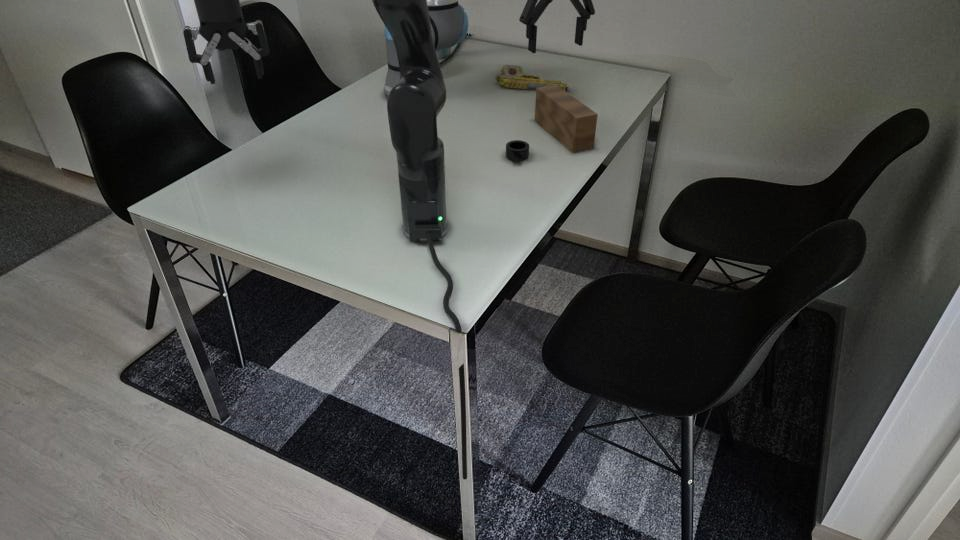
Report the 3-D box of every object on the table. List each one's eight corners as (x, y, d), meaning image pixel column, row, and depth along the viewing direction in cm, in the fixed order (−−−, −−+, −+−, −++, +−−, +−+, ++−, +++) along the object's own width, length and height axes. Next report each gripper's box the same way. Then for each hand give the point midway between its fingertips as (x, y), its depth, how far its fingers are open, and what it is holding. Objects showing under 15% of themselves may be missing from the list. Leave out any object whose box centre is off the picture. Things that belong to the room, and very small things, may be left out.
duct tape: (493, 159, 157) (493, 148, 155) (515, 144, 163) (515, 134, 161) (519, 168, 153) (519, 157, 151) (540, 152, 160) (541, 142, 158)
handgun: (571, 77, 201) (567, 95, 190) (501, 70, 205) (493, 87, 193) (572, 69, 200) (567, 86, 188) (501, 63, 203) (493, 79, 191)
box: (593, 148, 162) (597, 114, 156) (573, 153, 160) (576, 118, 154) (553, 117, 177) (555, 84, 171) (534, 120, 175) (536, 87, 169)
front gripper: (255, -18, 115) (273, 69, 125) (173, -12, 112) (198, 77, 122) (256, -8, 110) (275, 83, 119) (169, -1, 106) (196, 91, 116)
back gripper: (598, -51, 154) (589, 36, 167) (507, -42, 146) (505, 49, 159) (615, -45, 149) (604, 45, 162) (522, -35, 141) (518, 59, 154)
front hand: (236, 80), depth 121 cm, fingers open, 8 cm apart
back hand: (555, 47), depth 161 cm, fingers open, 13 cm apart
